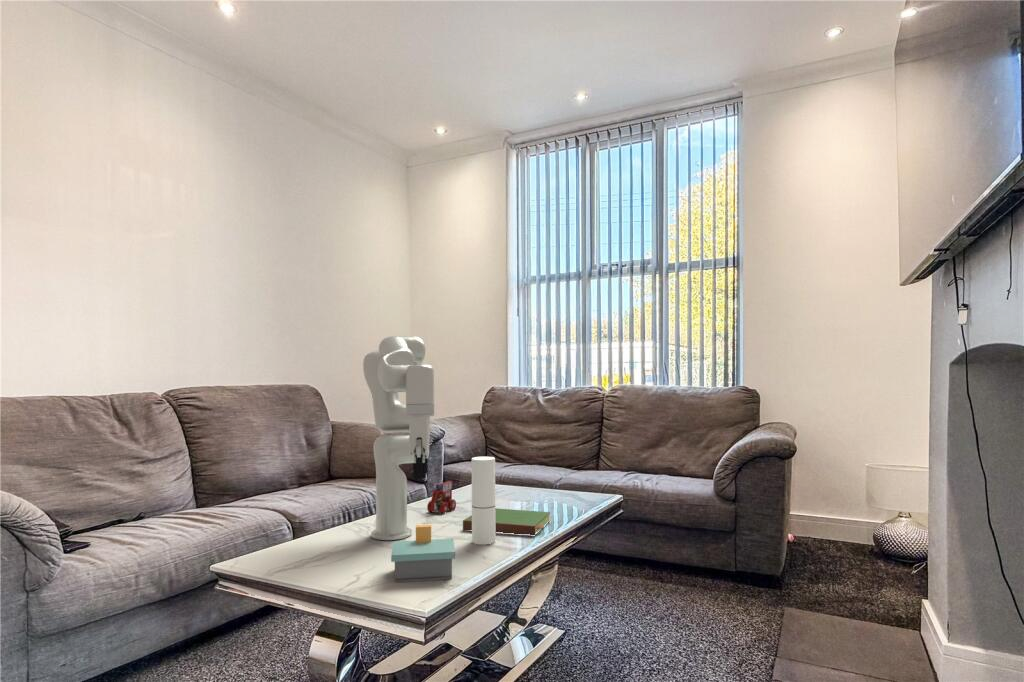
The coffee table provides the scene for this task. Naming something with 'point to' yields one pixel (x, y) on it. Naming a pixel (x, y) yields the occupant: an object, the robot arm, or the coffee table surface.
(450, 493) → the toy fire truck
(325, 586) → the coffee table surface
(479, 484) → the cylindrical container
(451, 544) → the lid
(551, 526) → the coffee table surface
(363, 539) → the coffee table surface
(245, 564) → the coffee table surface
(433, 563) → the tub
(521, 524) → the hardcover book
